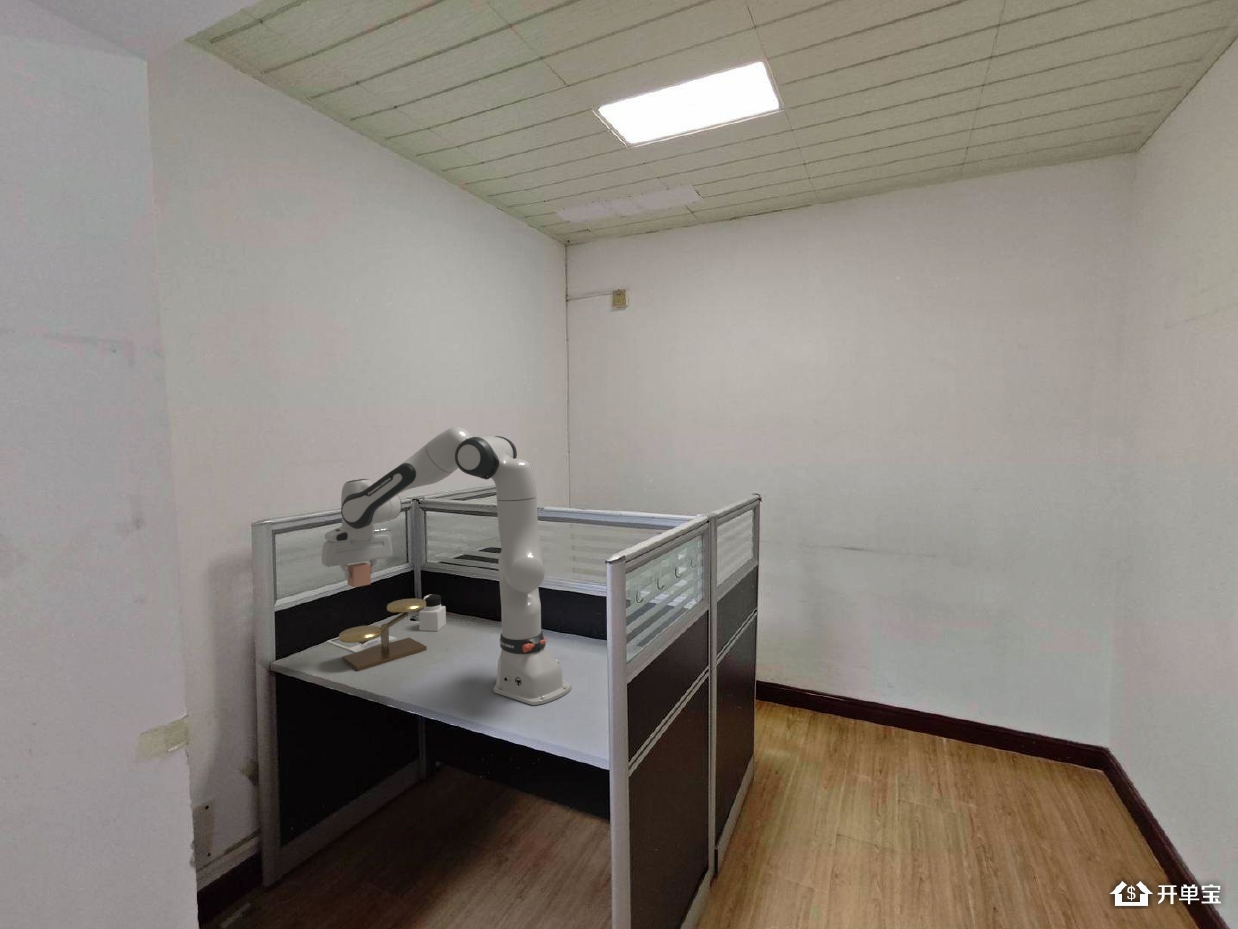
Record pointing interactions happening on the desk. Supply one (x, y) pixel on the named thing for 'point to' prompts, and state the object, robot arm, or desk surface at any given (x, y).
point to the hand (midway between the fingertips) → (359, 576)
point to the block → (359, 574)
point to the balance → (383, 638)
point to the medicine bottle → (432, 614)
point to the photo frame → (362, 646)
